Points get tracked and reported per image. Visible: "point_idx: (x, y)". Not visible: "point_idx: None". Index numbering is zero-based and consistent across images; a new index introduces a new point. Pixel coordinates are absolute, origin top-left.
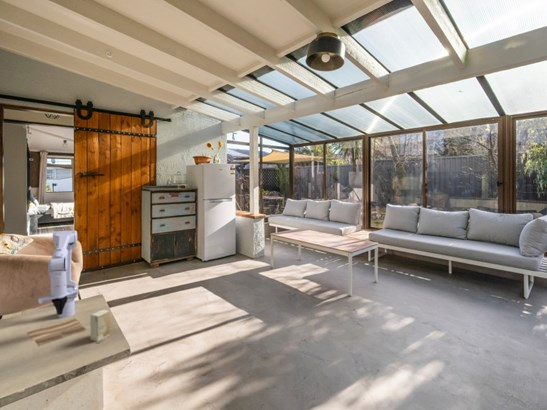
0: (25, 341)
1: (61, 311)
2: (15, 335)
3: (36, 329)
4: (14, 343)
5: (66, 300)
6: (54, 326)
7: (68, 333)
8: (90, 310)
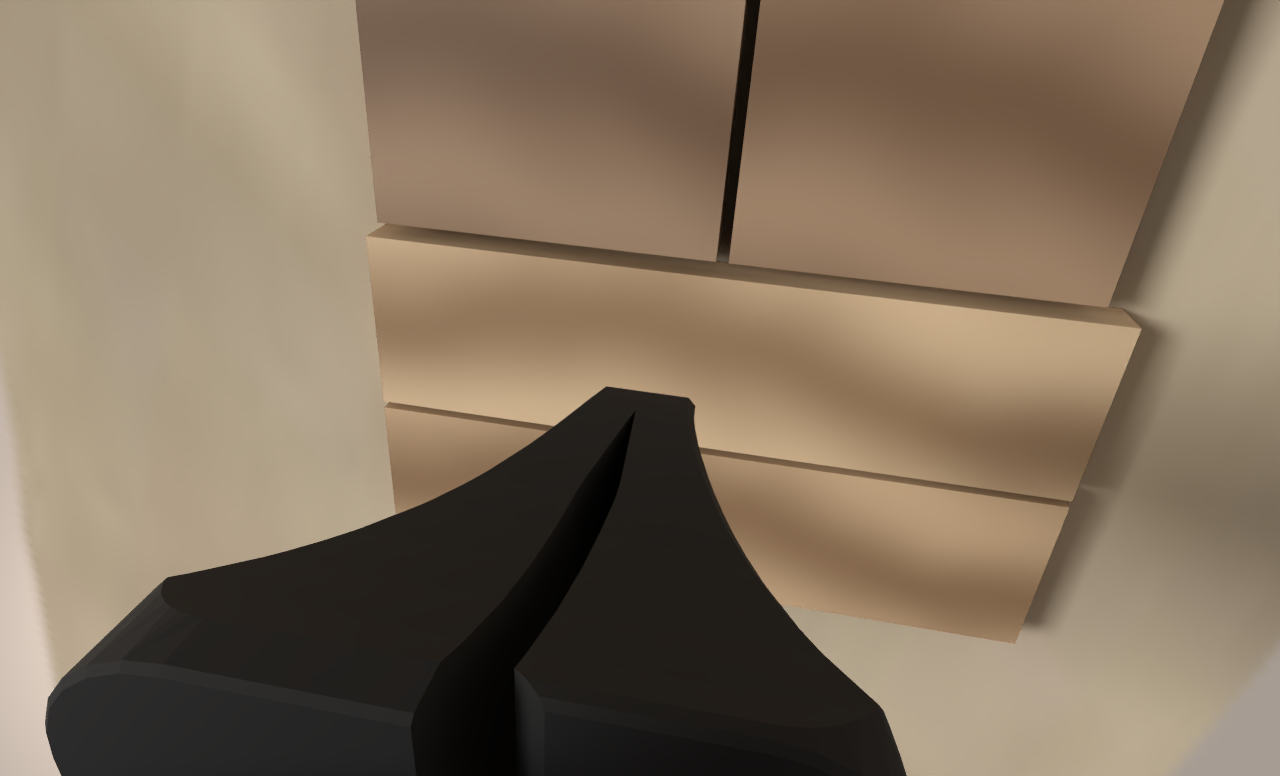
0: (1134, 445)
1: (603, 417)
2: (1084, 707)
3: (889, 622)
4: (1249, 510)
5: (194, 595)
6: None
7: (637, 44)
8: None
